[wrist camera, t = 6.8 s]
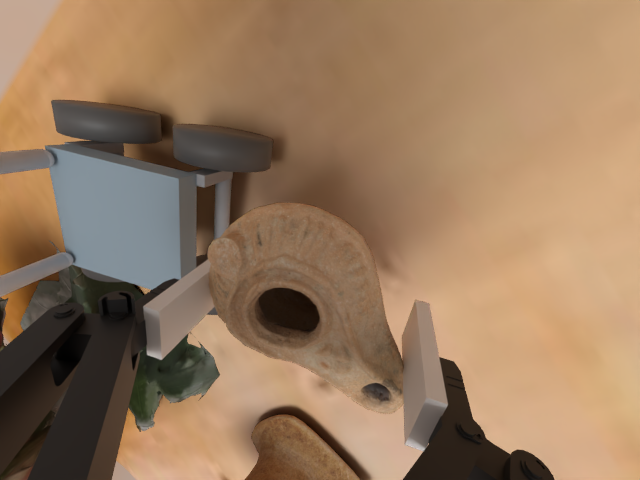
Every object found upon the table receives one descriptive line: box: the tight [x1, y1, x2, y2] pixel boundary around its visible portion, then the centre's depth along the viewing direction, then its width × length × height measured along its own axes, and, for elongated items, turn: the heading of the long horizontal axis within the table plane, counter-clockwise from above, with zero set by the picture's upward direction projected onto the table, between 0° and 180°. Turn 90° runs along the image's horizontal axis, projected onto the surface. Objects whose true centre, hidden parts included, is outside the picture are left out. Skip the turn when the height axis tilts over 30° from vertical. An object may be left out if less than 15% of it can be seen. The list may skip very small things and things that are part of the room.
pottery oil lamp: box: [207, 203, 404, 414], centre depth 15 cm, size 9×12×7 cm
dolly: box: [0, 100, 273, 315], centre depth 19 cm, size 14×17×21 cm
